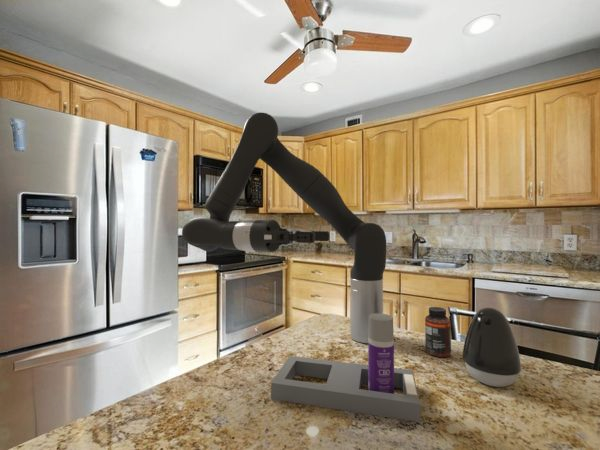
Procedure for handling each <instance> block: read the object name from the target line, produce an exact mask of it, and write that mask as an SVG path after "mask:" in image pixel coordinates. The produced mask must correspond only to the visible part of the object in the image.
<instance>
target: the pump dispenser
mask: <svg viewBox="0 0 600 450" xmlns="http://www.w3.org/2000/svg"><path fill="white" fill-rule="evenodd" d="M519 351H520V350H519V348H518V344H517V341H516V336H515V334H514V331H513V329H512V327H511V325H510V323H509V320H508V318H507V317H506V316H505V315H504V313H503V312H502V311H500V310H498V309H497V308H494V307H491V306H490V307H489V306H487V307H482V308H480V309H479V310H478V311H477V312H475V314H474V316H472V319H471V320H470V323H469V326H468V328H467V331H466V334H465V338H464V343H463V349H462V360H463V362H464V363H465V364H464V365H465V366H466V370H467V371H468V374H470V375H471V376H472V377H473V378H474V379H475V380H477V382H480V383H482V384H484V385H487V386H490V387H495V388H496V387H497V388H503V387H509V386H510V385H513V383H515V382H516V381H517V379H518V376H519V374H520V373H521V372H522V371H521V370H522V364H521V363H522V362H521V358H520V352H519Z"/></svg>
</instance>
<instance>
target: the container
mask: <svg viewBox="0 0 600 450" xmlns="http://www.w3.org/2000/svg"><path fill="white" fill-rule="evenodd" d="M394 336H395V335H394V317H393V316H392V315H389V314H385V313H383V314H371V315H369V337H368V343H367V345H368V346H367V349H368V353H367V355H368V357H367V358H368V361H367V362H368V364H367V365H368V384H367V385H368V390H369V391H377V392H384V393H391V394H395V388H394V368H395V360H394V359H395V340H394V339H395V337H394Z"/></svg>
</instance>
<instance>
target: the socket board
mask: <svg viewBox="0 0 600 450" xmlns="http://www.w3.org/2000/svg"><path fill="white" fill-rule="evenodd" d="M296 376H302V377H303V376H304V377H311V378H319V379H325V380H326V379H327V381H326V383H325V384H323V383H318V382H312V381H311V382H310V381H304V380H303V381H302V380H295V379H294V378H295V377H296ZM362 384H365V385H368V364H364V363H362V364H361V363H353V362H345V361H337V360H329V359H320V358H310V357H302V356H293V355H289V356H288V358H287V359H286V360H285V362H284V363H283V365H282V366H281V368H280V370H278V372H277V373H276V375H275V376H274V378H273V379H272V381H271V382H270V400H276V401H281V402H288V403H295V404H302V405H308V406H313V407H321V408H326V409H327V408H328V409H334V410H339V411H340V410H341V411H346V412H353V413H359V414H366V415H372V416H377V417H385V418H391V419H397V420H402V421H403V420H404V421H410V422H416V423H421V401H420V398H419V397H420V396H419V393H418V389H417V385H416V381H415V377H414V371H413V369H407V368H399V367H398V368H396V367H394V389H401V390H402V393H403V394H396V393H394V394H391V393H384V392H377V391H369V390H367V389H362Z"/></svg>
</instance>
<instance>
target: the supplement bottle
mask: <svg viewBox="0 0 600 450" xmlns="http://www.w3.org/2000/svg"><path fill="white" fill-rule="evenodd" d="M451 331H452V329H451V320H450V318H449V317H447V310H446V308H444V307H441V306H430V307H429V308H428V315H426V316H425V318H424V333H425V336H424V337H425V338H424V339H425V341H424V342H425V346H424V347H425V351H426V352H427V354H428V355H431V356H432V357H433V356H434V357H437V358H447V357H449V356H451V354H452V336H451V335H452V332H451Z"/></svg>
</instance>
